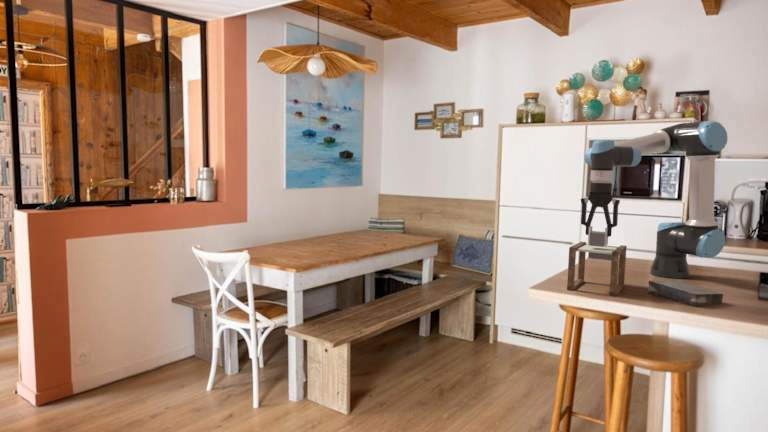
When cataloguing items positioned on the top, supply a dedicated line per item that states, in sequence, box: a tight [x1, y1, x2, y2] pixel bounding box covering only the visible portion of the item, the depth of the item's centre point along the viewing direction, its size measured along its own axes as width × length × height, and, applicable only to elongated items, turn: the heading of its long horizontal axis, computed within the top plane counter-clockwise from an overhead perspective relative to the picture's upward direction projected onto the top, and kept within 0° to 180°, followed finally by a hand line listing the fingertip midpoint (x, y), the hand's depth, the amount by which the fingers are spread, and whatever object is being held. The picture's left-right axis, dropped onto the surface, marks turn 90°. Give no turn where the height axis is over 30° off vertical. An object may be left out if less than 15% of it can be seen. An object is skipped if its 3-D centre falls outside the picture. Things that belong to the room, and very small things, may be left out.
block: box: [647, 280, 724, 308], centre depth 187 cm, size 14×20×5 cm
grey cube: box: [589, 230, 605, 247], centre depth 197 cm, size 5×5×5 cm
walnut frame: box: [566, 241, 627, 297], centre depth 200 cm, size 17×19×16 cm
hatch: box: [576, 243, 619, 261], centre depth 202 cm, size 12×21×6 cm, turn 147°
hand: (597, 244), depth 197 cm, fingers closed on grey cube, 5 cm apart
